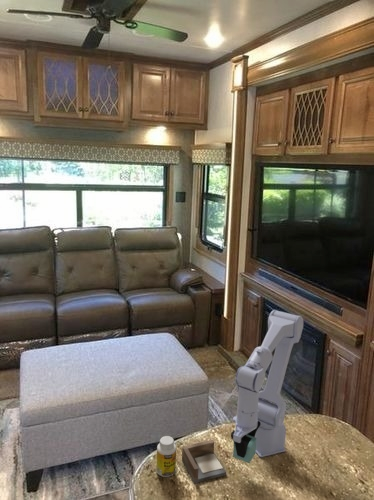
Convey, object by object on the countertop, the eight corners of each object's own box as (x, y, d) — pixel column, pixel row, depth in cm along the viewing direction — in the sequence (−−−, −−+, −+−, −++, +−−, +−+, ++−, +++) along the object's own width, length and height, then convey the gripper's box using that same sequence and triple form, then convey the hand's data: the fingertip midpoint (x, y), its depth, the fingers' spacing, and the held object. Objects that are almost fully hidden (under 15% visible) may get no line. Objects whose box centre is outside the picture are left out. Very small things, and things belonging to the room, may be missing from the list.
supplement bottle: (162, 481, 118) (163, 449, 116) (153, 468, 122) (153, 438, 120) (179, 473, 121) (180, 442, 119) (169, 461, 125) (170, 431, 123)
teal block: (239, 447, 124) (240, 432, 123) (255, 453, 121) (256, 437, 120) (232, 456, 119) (233, 441, 118) (249, 463, 117) (250, 447, 116)
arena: (212, 452, 130) (212, 439, 129) (226, 475, 121) (226, 461, 120) (181, 459, 126) (182, 446, 125) (194, 483, 117) (194, 469, 116)
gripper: (243, 391, 125) (241, 431, 128) (223, 416, 113) (221, 460, 116) (266, 398, 122) (263, 439, 125) (248, 425, 109) (245, 469, 112)
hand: (244, 450), depth 120 cm, fingers closed on teal block, 5 cm apart
